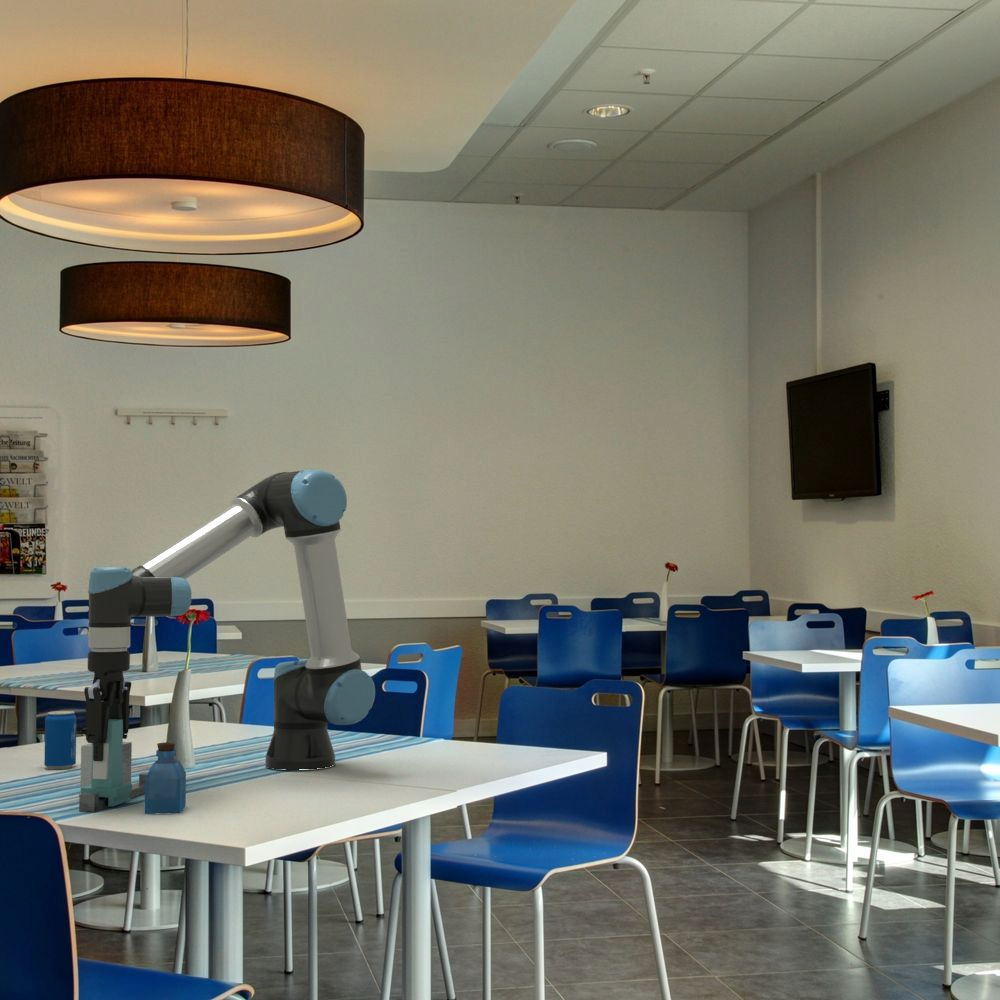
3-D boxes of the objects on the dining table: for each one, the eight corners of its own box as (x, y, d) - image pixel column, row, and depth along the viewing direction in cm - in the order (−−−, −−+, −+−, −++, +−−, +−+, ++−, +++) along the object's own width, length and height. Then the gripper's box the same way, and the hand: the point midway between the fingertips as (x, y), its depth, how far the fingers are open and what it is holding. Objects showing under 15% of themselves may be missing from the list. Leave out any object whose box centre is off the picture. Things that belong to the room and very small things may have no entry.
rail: (156, 788, 257) (156, 773, 257) (94, 811, 234) (94, 795, 234) (142, 788, 258) (142, 773, 258) (79, 811, 234) (79, 794, 234)
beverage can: (65, 770, 279) (66, 714, 280) (38, 769, 281) (39, 713, 281) (81, 766, 286) (82, 711, 286) (54, 765, 287) (55, 710, 288)
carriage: (131, 800, 243) (132, 719, 244) (115, 806, 237) (116, 723, 238) (97, 799, 244) (98, 718, 245) (80, 804, 239) (82, 722, 239)
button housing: (131, 787, 258) (131, 742, 259) (113, 794, 251) (114, 747, 252) (98, 786, 260) (99, 741, 260) (80, 792, 253) (81, 746, 253)
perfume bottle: (179, 813, 232) (180, 745, 233) (144, 814, 232) (145, 746, 233) (185, 807, 239) (186, 741, 239) (151, 807, 238) (151, 741, 239)
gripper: (113, 646, 251) (111, 768, 250) (66, 652, 235) (63, 783, 233) (149, 647, 250) (147, 770, 249) (104, 653, 233) (102, 785, 232)
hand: (106, 776), depth 241 cm, fingers closed on carriage, 4 cm apart
